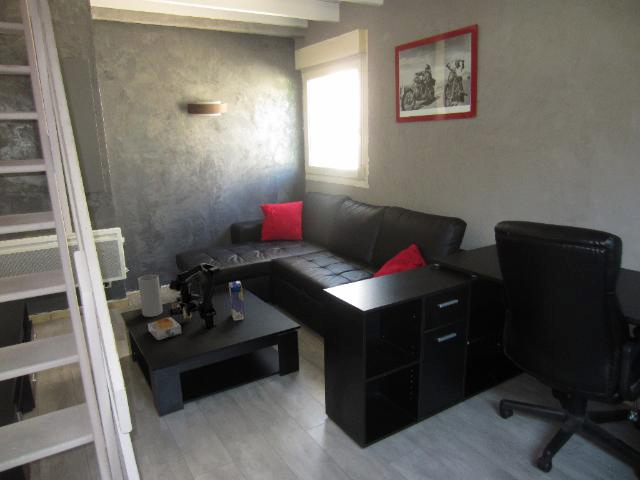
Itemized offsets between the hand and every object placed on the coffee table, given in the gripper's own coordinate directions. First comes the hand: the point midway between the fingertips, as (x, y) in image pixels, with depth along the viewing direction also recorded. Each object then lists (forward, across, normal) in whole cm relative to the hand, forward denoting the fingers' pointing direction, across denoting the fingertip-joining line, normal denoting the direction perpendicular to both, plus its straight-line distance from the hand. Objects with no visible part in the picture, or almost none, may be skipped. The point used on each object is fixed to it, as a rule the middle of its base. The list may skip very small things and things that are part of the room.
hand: (187, 315), depth 282 cm
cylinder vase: (+4, +28, +13) cm, 31 cm away
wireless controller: (+5, +20, -8) cm, 22 cm away
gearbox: (+4, -8, +17) cm, 19 cm away
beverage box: (+4, -15, -27) cm, 31 cm away
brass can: (+1, 0, 0) cm, 1 cm away
